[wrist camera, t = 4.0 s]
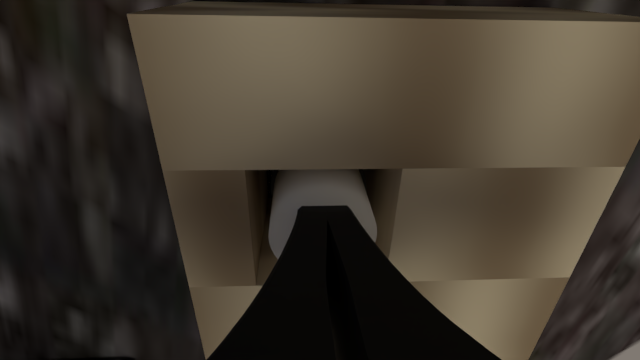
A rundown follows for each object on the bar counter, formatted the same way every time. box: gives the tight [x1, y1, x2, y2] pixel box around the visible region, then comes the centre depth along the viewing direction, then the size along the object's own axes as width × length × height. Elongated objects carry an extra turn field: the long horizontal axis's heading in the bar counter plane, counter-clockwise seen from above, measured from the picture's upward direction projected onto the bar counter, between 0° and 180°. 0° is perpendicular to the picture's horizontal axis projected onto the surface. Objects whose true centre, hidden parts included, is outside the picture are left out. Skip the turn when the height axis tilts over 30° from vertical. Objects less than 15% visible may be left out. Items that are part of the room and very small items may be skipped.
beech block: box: [127, 1, 640, 360], centre depth 14 cm, size 12×20×5 cm, turn 179°
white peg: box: [269, 169, 377, 259], centre depth 12 cm, size 3×3×4 cm
